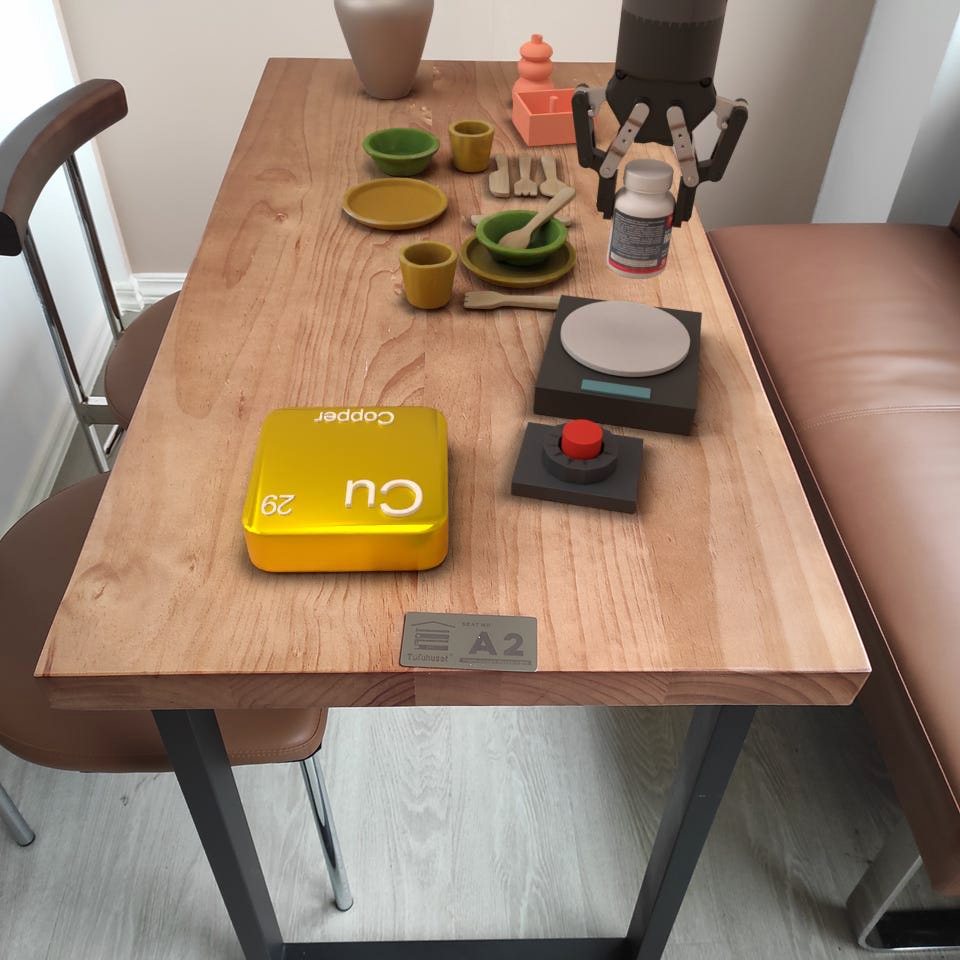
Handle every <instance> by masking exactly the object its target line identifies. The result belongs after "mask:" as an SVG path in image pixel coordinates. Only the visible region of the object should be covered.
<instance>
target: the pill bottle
mask: <svg viewBox="0 0 960 960" xmlns="http://www.w3.org/2000/svg"><path fill="white" fill-rule="evenodd" d="M623 171H624V172H623V177H622V180H623V181H622V182H623V186H621V187H620V188H619V189H618V190H616V192H615V196H614V202H613V211H612V218H611V220H610V229H609V236H608V237H609V238H608V244H607V251H606V265H607V267H608V269H609V270H610V271H611V272H613V273H614V274H616V275H618V276H620V277H622V278H623V277H624V278H627V279H631V280H632V279H633V280H648V279H652V278H656V277H658V276H660V275H662V273H663V272H664V271H665V270H666V267H667V262H668V256H669V251H670V245H671V244H670V243H671V238H672V232H673V221H674V215H675V209H676V201H677V199H676V198H675V195H674V194H673V193H672V192H671V191H670V190H671V188H672V185H673V179H674V174H675V173H674V172H675V171H674V168H673V166H671V164H670V163H667V162H665V161H664V160H660V159H656V158H636V159H631V160H630V161H628V162H627V163H625V166H624V170H623Z"/></svg>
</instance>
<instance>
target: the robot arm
mask: <svg viewBox="0 0 960 960" xmlns="http://www.w3.org/2000/svg"><path fill="white" fill-rule="evenodd" d="M728 2H729V0H622V1H621V9H620V10H621V11H620V18H619V26H618V27H619V28H618V37H617V44H616V53H615V61H614V62H615V63H614V70H613V74H612V77H610V79H609V81H608V82H607V85H606V84H605V85H599V86H589V85H588V84H587V83H584V82H582V83H579V84H577V85H576V87H575V88H576V89H575V92H574V94H573V97H572V100H571V104H572V112H573V120H574V129H575V137H576V143H575V145H576V152H577V160H578V161H577V162H578V164H579V167H581V168H583V169H590V170H592V171H595V172H596V173H597V175H598V185H597V195H596V203H595V207H596V210H597V212H598V213H602V219H603V220H606V221H607V220H608V221H612V211H613V202H614V196H615V194H616V192H617V183H618V174H619V168H618V167H619V166H620V164H621V162H622V160H623V158H624V157H625V156H626V155H627V152H628V151H629V149H630V147H631V146H632V144H633V143H634V144H641V145H644V144H651V143H655V144H658V145H660V146H663V147H672V148H673V147H674V150H675V155H676V158H677V162H678V163H679V167H680V172H681V175H680V176H679V177H680V178H679V183H678V190H677V196H676V209H675V215H674V221H673V226H672V228H676V229H681V228H682V223H683V222H685V223H689V221H690V220H691V218H692V216H693V210H694V204H695V199H696V193H697V189H698V187H699V186H700V185H701V184H702V183H706V182H711V183H718V182H720V181H721V180H722V179H723V178H724V175H725V172H726V170H727V168H728V165H729V163H730V162H731V159H732V157H733V155H734V152H735V149H736V147H737V144H738V143H739V140H740V138H741V136H742V133H743V131H744V128H745V126H746V124H747V122H748V119H749V103H748V101H747V100H746V99H745V98H741V97H740V98H739V97H738V98H736V99H735V100H733V99H730V98H726V97H724V96H720V95H718V93H717V90H716V87H715V83H714V81H715V74H716V68H717V63H718V57H719V51H720V46H721V41H722V36H723V30H724V29H723V28H724V24H725V17H726V13H727V7H728ZM605 102H607V104H608V106H609V108H610V109H611V112H612V114H613V115H614V117H615V119H616V121H617V122H618V124H619V126H618V128H617V129H616V131H615V133H614V135H613V137H612V140H611V142H610V144H609V145H608V147H607V149H606V151H605V150H602V149H600V148H598V147H597V139H596V128H595V129H594V120H593V117H596V118H597V116H598V115H599V113H600V110H601V106H602V104H603V103H605ZM712 112H713V113H715V114H716V116H717V117H716V126H717V128H718V129H719V130H720V133H719V135H718V137H717V140H716V142H715V145H714V147H713V150H712V152H711V154H710V156H709V158H708V159H704V160H700V161H699V156H698V152H697V147H696V140H695V135H694V130H696V129H697V128H698V126H699V125H701V123H702V122H703V121H705V120H706V118H707V117H708V116H709V115H710V114H711V113H712Z"/></svg>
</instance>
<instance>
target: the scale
mask: <svg viewBox="0 0 960 960" xmlns="http://www.w3.org/2000/svg"><path fill="white" fill-rule="evenodd" d="M559 297H560V301H559V304H558V308H557V310H556V311H555V314H554V319H553V322H552V325H551V329H550V333H549V336H548V340H547V343H546V347H545V351H544V354H543V357H542V361H541V364H540V368H539V372H538V375H537V378H536V382H535V385H534V395H533V409H532V413H533V414H536V415H544V416H549V417H557V418H563V419H571V420H588V421H592V422H594V423H598V424H606V425H612V426H619V427H626V428H631V429H632V428H633V429H639V430H640V429H641V430H648V431H654V432H661V433H668V434H673V435H674V434H675V435H681V436H682V435H683V436H689V437H690V436H691V433H692V430H693V429H692V428H693V425H694V419H695V415H696V411H697V396H698V382H699V381H698V380H699V369H700V367H699V366H700V351H701V350H700V349H701V336H702V335H701V334H702V318H703V312H700V311H695V310H694V311H693V310H686V309H678V308H669V307H662V306H655V305H654V306H653V305H649V304H645V303H641V302H636V301H630V300H629V301H627V300H607V299H606V300H605V299H600V298H599V299H598V298H590V297H581V296H573V295H566V294H561V295H560V296H559Z"/></svg>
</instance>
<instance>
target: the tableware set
mask: <svg viewBox="0 0 960 960" xmlns="http://www.w3.org/2000/svg"><path fill="white" fill-rule="evenodd" d="M447 129H448V130H447V131H448V135H449V143H450V148H451V154H452V160H453V161H452V162H453V165H454V167H455V168H456V169H457V170H458V171H460V172H464V173H479V172H483V171H484V170H486V169H487V168H488V167H489V165H490V164H489V163H490V159H491V154H492V148H493V142H494V137H495V130H496V127H495V125H494V124H493V123H492V122H489V121H486V120H483V119H469V118H468V119H460V120H457V121H454V122H452V123H451V124H449V125H448V128H447ZM362 140H363V141H362V143H361V144H362V145H361V146H362V148H363V150H364V151H365V153H366V154H367V155H368V156H369V157H371V159H372V160H373V162H374V163H375V165H376V167H377V168H378V169H379V170H380V171H381V172H382V173H384V174H386V175H389V176H393V177H383V178H376V179H371V180H367V181H364V182H361V183H358V184H356V185H354V186H352V187H350V188H349V189H347V190H346V191H345V193H344V194H343V195H342V197H341V200H340V205H341V207H342V209H343V210H344V211H345V213H346V214H347V215H348V216H350V218H352V219H353V220H355V221H356V222H358V223H359V224H361V225H363V226H366V227H369V228H374V229H378V230H386V231H387V230H388V231H398V230H399V231H400V230H411V229H416V228H419V227H422V226H426V225H428V224H430V223H432V222H433V221H435V220H437V218H439V216H441V215H442V214H443V213H444V212H445V210H446V209H447V207H448V206H449V197H448V195H447V193H446V192H445V191H444V190H442V188H440V187H438V186H437V185H435V184H434V183H430V182H429V181H424V180H420V179H416V178H410V176H414V175H415V176H416V175H417V174H420V173H422V172H423V171H424V170H425V169H427V166H428V165H429V163H430V161H431V160H432V158H433V156H435V155H436V154H437V152H438V151H439V150H440V148H441V141H440V139H439V137H437V136H436V135H435V134H434V133H431V132H430V131H427V130H423V129H420V128H414V127H390V128H384V129H380V130H377V131H374V132H371V133H369V134H368V135H367V136H365V138H364V139H362ZM540 163H541V167H542V170H543V173H544V176H545V181H542V183H541V184H540V185H539V192H540V193H541V194H542V195H543V196H546V197H552V198H551V199H550V200H549V201H548V202H547V203H546V205H544V206H543V207H542V208H541V209H540V211H535V210H530V209H529V210H528V209H509V210H502V211H498V212H494V213H492V214H473V215H471V216H470V223H471V224H472V226H474V227H476V228H475V233H474V234H473V235H471V236H469V237H468V238H467V239H466V240H465V241H463V243H462V245H461V246H460V248H459V253H458V250H457V249H456V248H455V247H454V246H452V245H450V244H448V243H446V242H443V241H440V240H439V241H438V240H417V241H412V242H410V243H407V244H405V245H404V246H402V247H401V248H400V249H399V251H398V262H399V266H400V271H401V276H402V281H403V286H404V292H405V296H406V300H407V302H408V303H409V304H410V305H412V306H414V307H416V308H419V309H424V310H434V309H438V308H441V307H443V306H445V305H447V304H448V302H450V300H451V297H452V294H453V287H454V282H455V276H456V271H457V265H458V259H459V257H460V260H461V262H462V263H463V265H464V266H465V267H466V268H467V269H468V270H469V271H470V272H471V273H472V274H474V275H475V276H476V277H477V278H479V279H481V280H482V281H485V282H487V283H489V284H492V285H496V286H499V287H504V288H505V287H506V288H509V289H510V288H512V289H530V288H537V287H542V286H545V285H548V284H551V283H553V282H555V281H558V280H559V279H561V277H564V275H566V274H567V273H568V272H570V271H571V270H572V268H573V267H574V265H575V264H576V262H577V251H576V249H575V247H574V246H573V245H572V244H571V243H570V242H569V241H568V236H569V233H568V229H567V227H569V226H571V225H572V221H573V220H572V218H571V216H565V215H557V214H558V213H559V212H561V210H563V209H564V208H565V207H567V206H568V205H569V204H570V203H572V201H574V199H575V198H576V196H577V191H576V189H575V188H574V187H572V186H568V184H566V183H564V182H562V181H561V180H559V178H558V175H557V165H556V158H555V156H554V155H553V154H543V155H542V156H541V157H540ZM495 165H496V169H497V170H495V171H493V172H491V173H490V174H489V176H488V186H489V192H490V193H491V194H492V195H493V196H494V197H496V198H497V197H498V198H509V197H510V176H509V164H508V156H507V155H506V154H505V153H504V154H503V153H498V154H496V155H495ZM518 168H519V175H520V176H519V177H520V179H518V180H517V181H516V182H515V183H514V184H513V192H514V196H518V197H519V196H522V195H523V196H525V197H526V196H529V195H530V197H531V196H532V197H536V196H537V195H538V184H537V182H535V181H533V180H532V179H531V168H532V156H531V155H530V154H528V153H521V154H519V155H518ZM408 177H409V178H408ZM464 297H465V298H464V302H463V307H464V308H467V309H477V310H478V309H479V310H480V309H481V310H493V309H497V308H500V307H503V306H504V307H509V306H510V307H522V308H533V309H534V308H535V309H545V310H556V311H557V308H558V304H559V301H560V297H561V296H554V295H553V296H551V295H550V296H549V295H548V296H547V295H545V296H544V295H508V294H502V293H499V292H497V291H493V290H476V291H475V290H474V291H467V292H465V293H464Z"/></svg>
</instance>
